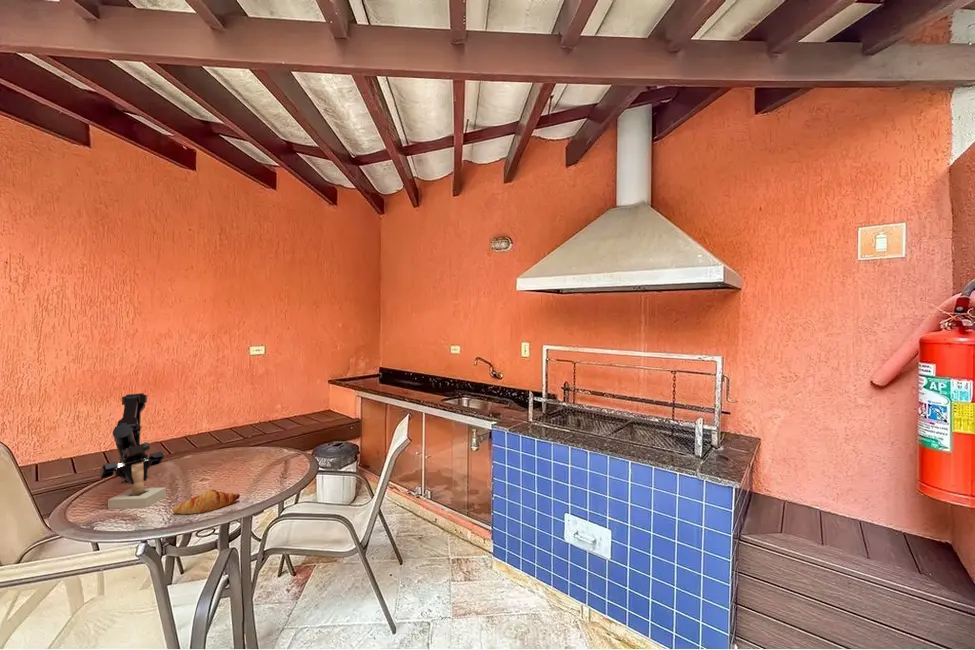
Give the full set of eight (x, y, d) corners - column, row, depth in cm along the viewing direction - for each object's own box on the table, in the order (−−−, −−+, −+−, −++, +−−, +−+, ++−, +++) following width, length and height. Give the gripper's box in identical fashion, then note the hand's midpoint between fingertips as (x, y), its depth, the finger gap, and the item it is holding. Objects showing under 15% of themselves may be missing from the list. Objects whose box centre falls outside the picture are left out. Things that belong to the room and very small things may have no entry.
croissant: (171, 527, 144) (168, 512, 141) (175, 505, 152) (172, 490, 148) (240, 511, 154) (238, 497, 151) (240, 491, 162) (239, 477, 159)
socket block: (108, 508, 152) (108, 499, 152) (130, 497, 162) (130, 488, 162) (146, 507, 153) (146, 498, 153) (166, 496, 163) (166, 487, 163)
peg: (129, 501, 156) (129, 465, 155) (137, 497, 159) (136, 462, 159) (139, 501, 156) (138, 465, 156) (146, 497, 159) (145, 462, 159)
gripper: (101, 444, 151) (112, 478, 146) (161, 432, 167) (173, 462, 161) (95, 461, 156) (105, 495, 150) (154, 447, 171) (165, 478, 166)
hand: (139, 482), depth 157 cm, fingers closed on peg, 3 cm apart
